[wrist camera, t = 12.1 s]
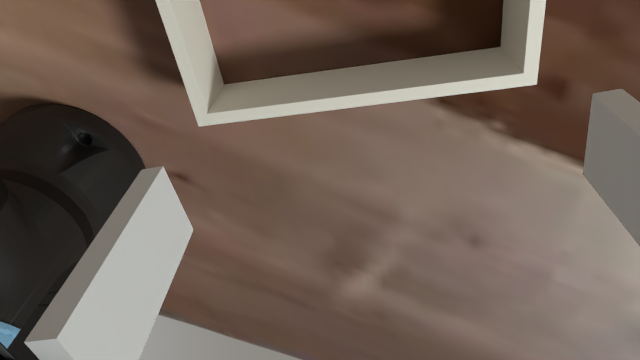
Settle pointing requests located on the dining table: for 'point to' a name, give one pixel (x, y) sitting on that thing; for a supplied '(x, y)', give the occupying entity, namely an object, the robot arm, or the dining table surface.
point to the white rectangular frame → (349, 71)
